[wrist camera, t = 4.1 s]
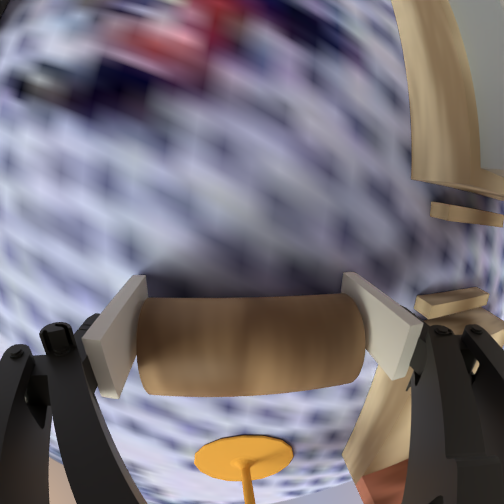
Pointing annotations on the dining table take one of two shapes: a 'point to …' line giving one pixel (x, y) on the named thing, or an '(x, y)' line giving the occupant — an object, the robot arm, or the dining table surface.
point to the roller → (248, 344)
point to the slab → (485, 72)
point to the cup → (244, 460)
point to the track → (441, 173)
